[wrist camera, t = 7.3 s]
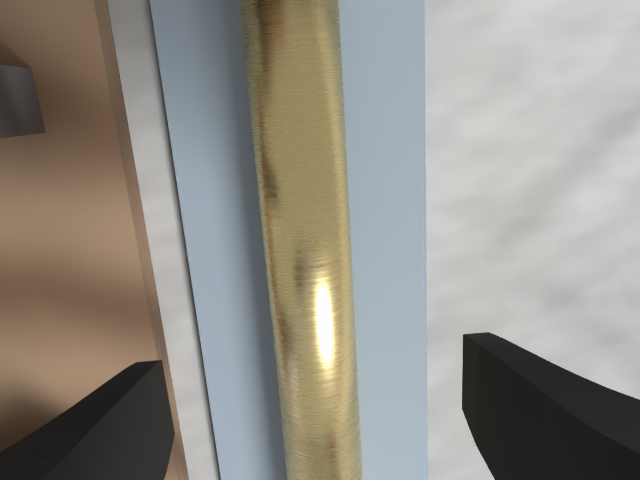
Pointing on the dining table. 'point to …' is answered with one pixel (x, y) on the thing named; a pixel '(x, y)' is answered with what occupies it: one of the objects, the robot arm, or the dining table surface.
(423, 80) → the slate mat
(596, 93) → the dining table surface
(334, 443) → the brass rail
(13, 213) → the rail stand
